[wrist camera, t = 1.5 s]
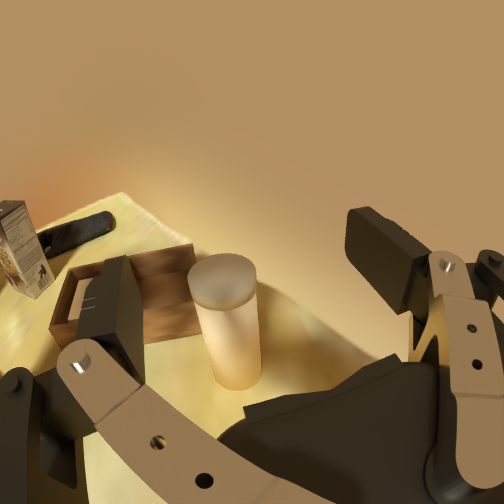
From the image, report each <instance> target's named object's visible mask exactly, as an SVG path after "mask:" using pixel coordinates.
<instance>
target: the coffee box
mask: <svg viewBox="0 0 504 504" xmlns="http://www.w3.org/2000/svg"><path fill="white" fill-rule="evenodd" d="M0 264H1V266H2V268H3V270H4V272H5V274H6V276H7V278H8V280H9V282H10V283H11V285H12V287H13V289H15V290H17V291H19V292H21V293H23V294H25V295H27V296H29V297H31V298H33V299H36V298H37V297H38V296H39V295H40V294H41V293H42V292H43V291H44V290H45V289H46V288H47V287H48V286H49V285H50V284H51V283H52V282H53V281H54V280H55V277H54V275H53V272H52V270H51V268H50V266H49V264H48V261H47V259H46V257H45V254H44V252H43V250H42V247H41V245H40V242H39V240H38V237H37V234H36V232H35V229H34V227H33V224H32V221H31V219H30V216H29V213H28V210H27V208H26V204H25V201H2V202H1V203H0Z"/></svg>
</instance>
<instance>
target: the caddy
mask: <svg viewBox="0 0 504 504" xmlns="http://www.w3.org/2000/svg"><path fill="white" fill-rule="evenodd" d="M127 258H128V260H129V263H130V266H131V269H132V271H133V274H134V277H135V280H136V283H137V285H138V288H139V291H140V294H141V298H142V303H143V335H144V344H149V343H155V342H161V341H166V340H172V339H177V338H183V337H188V336H193V335H198V334H202V330H201V326H200V322H199V319H198V315H197V311H196V307H195V303H194V300H193V298H192V296H191V292H190V288H189V284H188V278H187V277H188V273H189V271H190V269H191V268H192V266H193V265H195V264H196V258H195V253H194V248H193V243H192V244H186V245H181V246H176V247H171V248H166V249H161V250H156V251H151V252H146V253H141V254H136V255H131V256H127ZM103 264H104V261H102V262H97V263H93V264H88V265H83V266H79V267H74V268H69V270H68V272H67V275H66V278H65V280H64V283H63V286H62V289H61V292H60V295H59V297H58V300H57V303H56V306H55V310H54V313H53V316H52V319H51V322H50V326H49V331H50V333H51V334H52V336H53V337H54V339H55V340H56V342H57V343H58V345H59V346H60V348H61V349H62V350H64V348H66V347H67V346H68V345H69V344H71V343H73V342H74V340H75V335H76V330H77V325H78V320H79V315H80V311H81V310H82V309H81V306H82V302H83V301H84V300H83V298H84V294H85V290H86V287H87V286H88V285H89V283H90V282H91V280H92V279H93V278H94V277H98V276H101V273H102V268H103Z"/></svg>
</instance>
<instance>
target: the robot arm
mask: <svg viewBox="0 0 504 504" xmlns="http://www.w3.org/2000/svg"><path fill="white" fill-rule="evenodd" d="M345 252H346V256H347V258H348V260H349V261H350V262H351V263H352V265H354V267H355V268H356V269H357V270H358V271H359V272H360V273H361V274H362V275H363V277H364V278H365V279H366V280H367V281H368V282H369V283H370V284H371V286H372V287H373V288H374V289H375V290H376V291H377V292H378V293H379V295H380V296H381V297H382V298H383V299H384V300H385V301H386V302H387V304H388V305H389V306H390V307H391V308H392V309H393V311H394V312H395V313H396V314H397V315H399V314H401V313H404V312H406V311H409V310H410V311H411V312H412V313H411V316H410V319H409V357H408V362H401V360H400V359H399V358H398V356H397V355H396V354H395V353H394V354H392V355H390V356H388V357H385V358H383V359H381V360H379V361H376V362H374V363H372V364H369V365H367V366H364V367H363V368H361V369H360V370H359V371H357V372H356V373H355V374H353V375H352V376H350V377H349V378H348V379H346V380H345V381H343V382H342V383H341V384H339V385H338V386H336V387H335V388H333V389H331V390H327V391H320V392H311V393H302V394H291V395H283V396H280V397H277V398H273V399H270V400H267V401H263V402H259V403H256V404H252V405H248V406H244V407H243V410H244V414H245V418H244V419H242V420H240V421H239V422H237V423H235V424H234V425H232V426H231V427H229V428H228V429H227V430H226V431H225V432H223V433H222V434H221V435H220V436H219V437H218V438H217V439H215V438H213V437H212V436H210V435H209V434H208V433H206V432H205V431H204V430H202V429H201V428H200V427H198V426H197V425H196V424H194V423H193V422H192V421H190V420H189V419H188V418H186V417H185V416H184V415H183V414H181V413H180V412H179V411H178V410H176V409H175V408H174V407H173V406H171V405H170V404H169V403H168V402H167V401H165V400H164V399H163V398H162V397H161V396H160V395H158V394H157V393H156V392H155V391H154V390H153V389H151V388H150V387H149V386H148V385H146V383H145V365H144V335H143V303H142V298H141V294H140V291H139V288H138V285H137V283H136V280H135V277H134V274H133V271H132V269H131V266H130V263H129V260H128V258H127V256H126V255H123V256H119V257H115V258H110V259H106V260H105V261H104V264H103V268H102V273H101V276H98V277H94V278H93V279H92V280H91V282H90V283H89V285H88V286H87V287H86V290H85V294H84V298H83V300H84V301H83V302H82V306H81V309H82V310H81V311H80V315H79V320H78V325H77V330H76V335H75V340H74V342H73V343H71V344H69V345H68V346H67V347H66V348H64V350H63V351H62V352H61V353H60V355H59V357H58V360H57V367H55V368H53V369H51V370H49V371H47V372H45V373H42V374H40V375H38V376H36V377H34V376H33V375H32V373H31V372H30V371H29V370H28V369H26V368H24V367H17V368H13V369H11V370H10V371H8V372H7V373H6V374H4V373H3V372H2V371H1V370H0V504H89V499H88V492H87V484H86V474H85V463H84V449H83V437H85V436H87V435H90V434H92V433H94V432H97V431H98V432H99V433H100V435H101V436H102V437H103V438H104V439H105V441H106V442H107V443H108V444H109V445H110V446H111V447H112V449H113V450H114V451H115V452H116V453H117V454H118V455H119V456H120V457H121V459H122V460H123V461H124V462H125V463H126V464H127V465H128V466H129V467H130V468H131V469H132V470H133V471H134V472H135V473H136V474H137V475H138V476H139V477H140V478H141V479H142V480H143V481H144V482H145V483H146V484H147V485H148V486H149V487H150V488H151V489H152V490H153V491H154V492H156V493H157V494H158V495H159V496H160V497H161V498H162V499H163V500H164V501H166V502H167V503H168V504H504V324H503V323H502V322H501V320H500V319H499V318H498V317H497V316H496V315H495V314H494V313H493V312H492V311H491V310H492V308H493V306H494V304H495V302H496V300H497V297H498V295H499V296H500V297H501V298H502V299H503V300H504V256H503V255H501V254H500V253H498V252H496V251H492V250H482V251H481V252H480V253H479V255H478V258H477V261H476V263H464V261H463V260H462V259H461V258H459V257H458V256H457V255H455V254H453V253H450V252H446V251H435V252H431V251H430V250H429V249H428V248H427V247H425V246H424V245H423V244H422V243H420V242H419V241H418V240H417V239H415V238H414V237H413V236H412V235H410V234H409V233H408V232H407V231H405V230H403V229H402V228H401V227H400V226H399V225H397V224H396V223H395V222H393V221H391V220H389V219H386V218H384V217H383V216H381V215H380V214H379V213H377V212H376V211H375V210H373V209H372V208H370V207H367V206H366V207H361V208H355V209H351V210H349V212H348V215H347V227H346V237H345Z"/></svg>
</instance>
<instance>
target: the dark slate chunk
mask: <svg viewBox="0 0 504 504" xmlns="http://www.w3.org/2000/svg"><path fill="white" fill-rule="evenodd" d="M112 220H113V219H112V215H111V213H110V212H108V211H103V212H100V213H98V214H94V215H91V216H89V217H85V218H82V219H78V220H74V221H70V222H67V223H64V224H61V225H58V226H55V227H52V228H49V229H46V230H44V231H41V232H39V233H37V237H38V240H39V242H40V245H41V247H42V250H43V252H44V253H45V251H44V250H45V249H46V247H47V246H51V250H50V251H48V252H47V253H46V254H45V257H46V259H49V258H52V257H54V256H56V255H59V254H60V253H64V252H65V251H66V250H68V249H71V248H74V247H76V246H78V245H82V244H83V243H86V242H88V241H91V240H93V239H95V238H97V237H99V236H100V235H103V234H104V233H105V232H107V231H109V230H110V228H111V225H112Z"/></svg>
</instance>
